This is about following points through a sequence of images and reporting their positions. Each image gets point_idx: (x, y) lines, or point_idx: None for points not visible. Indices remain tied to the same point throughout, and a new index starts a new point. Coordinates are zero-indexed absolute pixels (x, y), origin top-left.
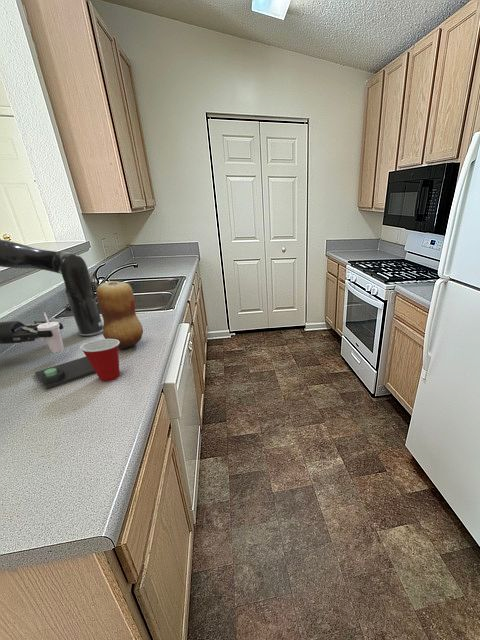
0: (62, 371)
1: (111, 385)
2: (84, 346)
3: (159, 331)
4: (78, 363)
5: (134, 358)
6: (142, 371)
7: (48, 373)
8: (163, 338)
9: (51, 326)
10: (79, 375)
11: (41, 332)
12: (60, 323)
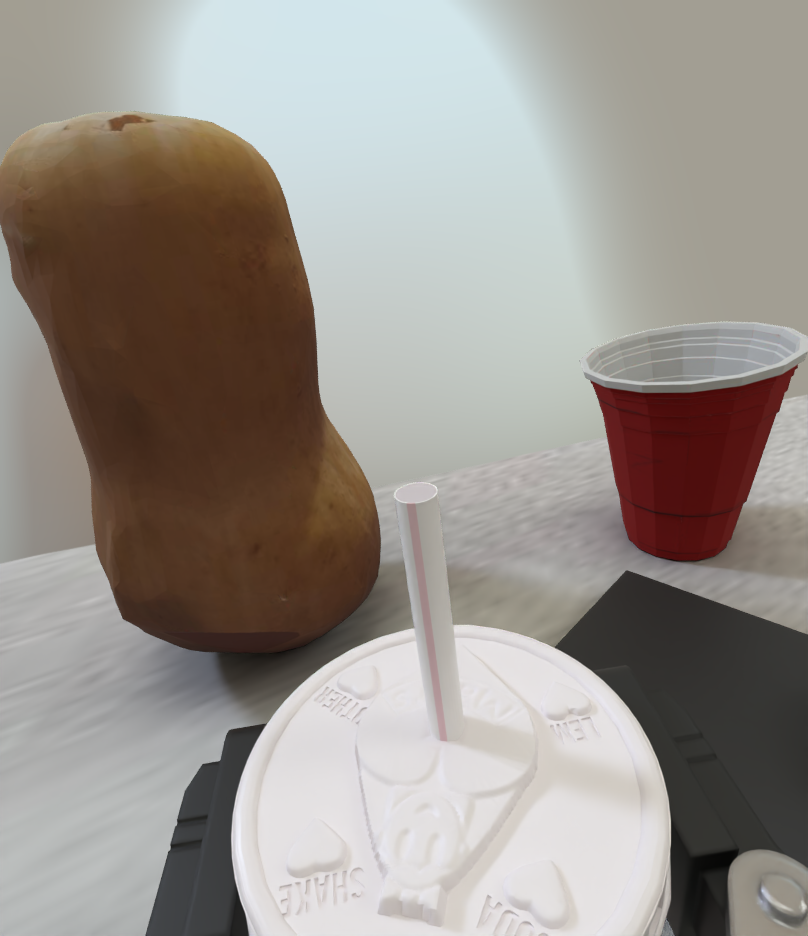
0: None
1: None
2: (734, 387)
3: (82, 579)
4: None
5: (454, 538)
6: (581, 474)
7: None
8: None
9: (514, 657)
10: (768, 621)
11: (701, 801)
12: (248, 729)
